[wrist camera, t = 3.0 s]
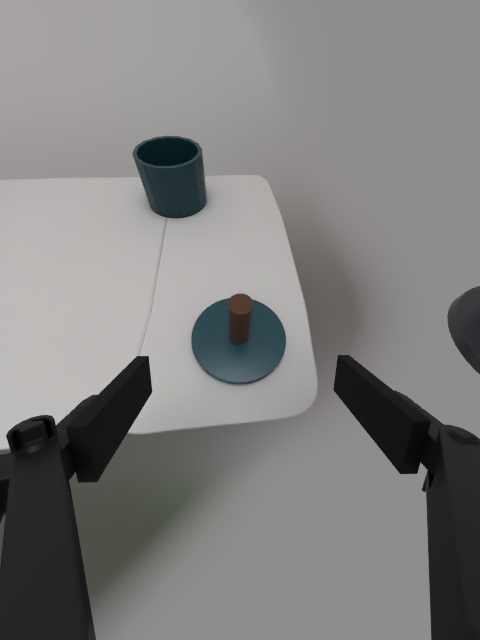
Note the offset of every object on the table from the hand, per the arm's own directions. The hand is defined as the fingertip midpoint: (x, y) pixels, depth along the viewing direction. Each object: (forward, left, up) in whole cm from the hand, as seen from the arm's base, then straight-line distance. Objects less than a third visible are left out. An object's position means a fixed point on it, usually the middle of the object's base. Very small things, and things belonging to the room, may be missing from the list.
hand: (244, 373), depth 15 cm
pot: (+13, -43, -14) cm, 47 cm away
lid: (0, -9, -14) cm, 17 cm away
